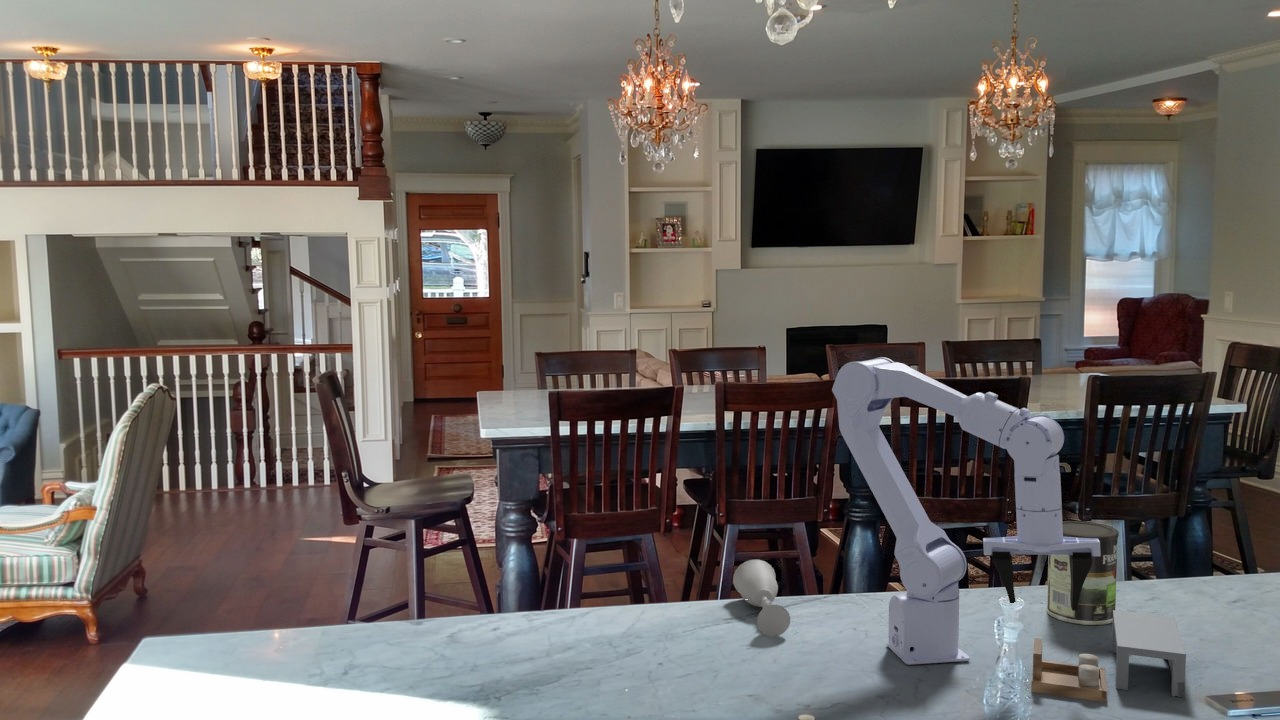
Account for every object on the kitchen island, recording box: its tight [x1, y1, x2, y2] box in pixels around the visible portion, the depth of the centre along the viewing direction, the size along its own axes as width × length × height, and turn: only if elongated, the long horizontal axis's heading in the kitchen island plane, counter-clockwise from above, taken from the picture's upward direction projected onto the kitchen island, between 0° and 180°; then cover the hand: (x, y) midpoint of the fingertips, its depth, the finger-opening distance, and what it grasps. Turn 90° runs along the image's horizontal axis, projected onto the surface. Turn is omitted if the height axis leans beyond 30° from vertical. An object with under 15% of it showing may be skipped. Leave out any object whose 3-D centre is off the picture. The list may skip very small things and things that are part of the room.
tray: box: [1031, 637, 1108, 703], centre depth 136 cm, size 9×8×5 cm
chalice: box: [732, 559, 791, 637], centre depth 164 cm, size 7×7×18 cm
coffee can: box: [1046, 520, 1120, 626], centre depth 163 cm, size 10×10×14 cm
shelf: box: [1111, 609, 1187, 698], centre depth 140 cm, size 8×15×6 cm, turn 157°
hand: (1043, 607), depth 137 cm, fingers open, 7 cm apart
